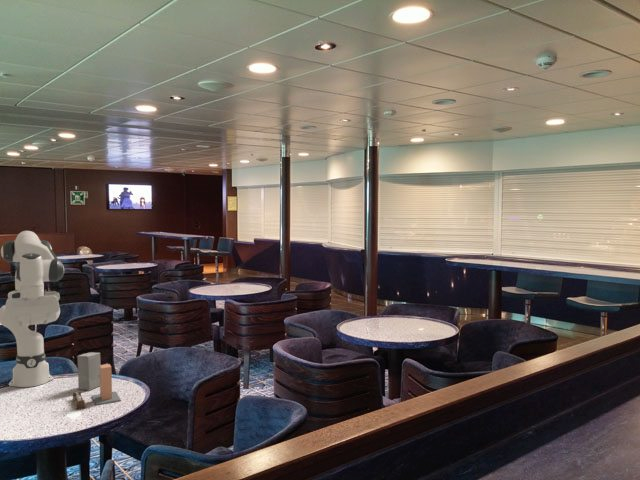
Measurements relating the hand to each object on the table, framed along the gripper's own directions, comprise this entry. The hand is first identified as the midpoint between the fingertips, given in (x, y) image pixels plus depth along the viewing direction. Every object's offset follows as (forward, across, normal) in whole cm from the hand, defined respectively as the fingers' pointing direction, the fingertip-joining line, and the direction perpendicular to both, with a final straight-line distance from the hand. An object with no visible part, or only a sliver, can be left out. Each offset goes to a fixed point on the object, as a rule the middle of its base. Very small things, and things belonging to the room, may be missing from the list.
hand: (33, 324), depth 218 cm
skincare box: (+34, -23, -11) cm, 43 cm away
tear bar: (+34, -16, +9) cm, 39 cm away
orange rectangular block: (+34, -27, +9) cm, 44 cm away
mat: (+34, -27, +9) cm, 44 cm away
